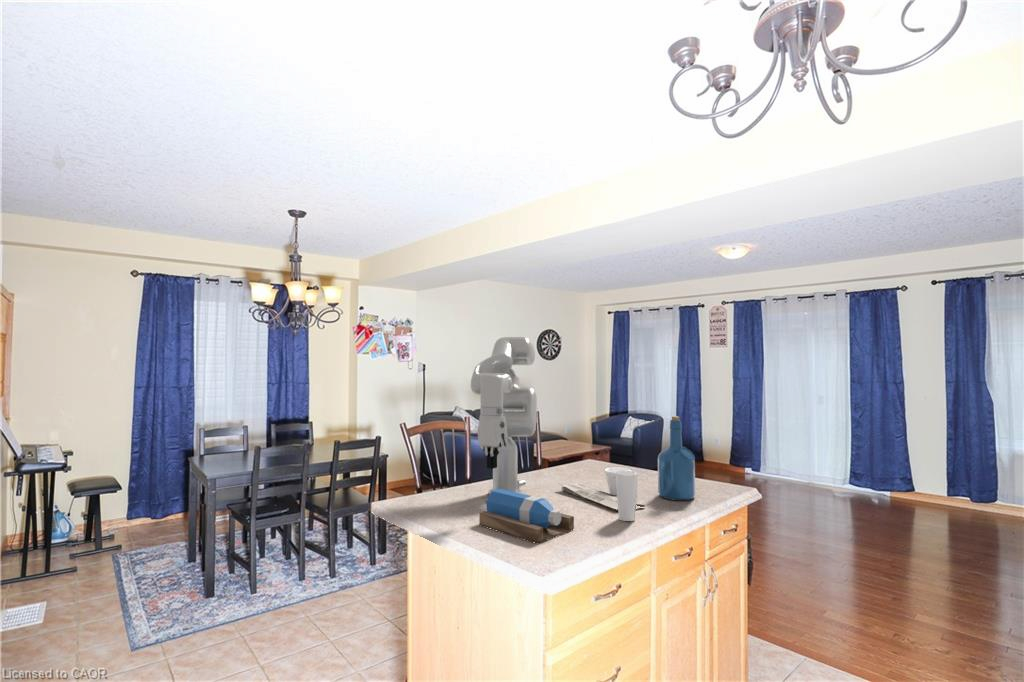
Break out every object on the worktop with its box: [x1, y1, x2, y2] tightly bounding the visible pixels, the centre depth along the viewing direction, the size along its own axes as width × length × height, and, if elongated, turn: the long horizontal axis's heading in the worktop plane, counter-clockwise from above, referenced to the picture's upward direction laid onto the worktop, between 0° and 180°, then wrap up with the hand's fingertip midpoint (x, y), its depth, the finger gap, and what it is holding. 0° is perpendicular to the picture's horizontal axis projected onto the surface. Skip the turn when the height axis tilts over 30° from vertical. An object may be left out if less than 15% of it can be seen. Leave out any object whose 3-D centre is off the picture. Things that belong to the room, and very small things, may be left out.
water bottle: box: [485, 489, 562, 529], centre depth 162 cm, size 9×9×25 cm
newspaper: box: [559, 482, 646, 511], centre depth 193 cm, size 35×12×4 cm, turn 32°
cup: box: [604, 466, 632, 496], centre depth 200 cm, size 10×10×9 cm
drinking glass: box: [616, 470, 638, 522], centre depth 168 cm, size 7×7×15 cm
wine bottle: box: [657, 415, 696, 501], centre depth 196 cm, size 14×13×30 cm
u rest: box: [478, 510, 575, 544], centre depth 161 cm, size 17×24×4 cm
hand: (491, 467), depth 172 cm, fingers closed
